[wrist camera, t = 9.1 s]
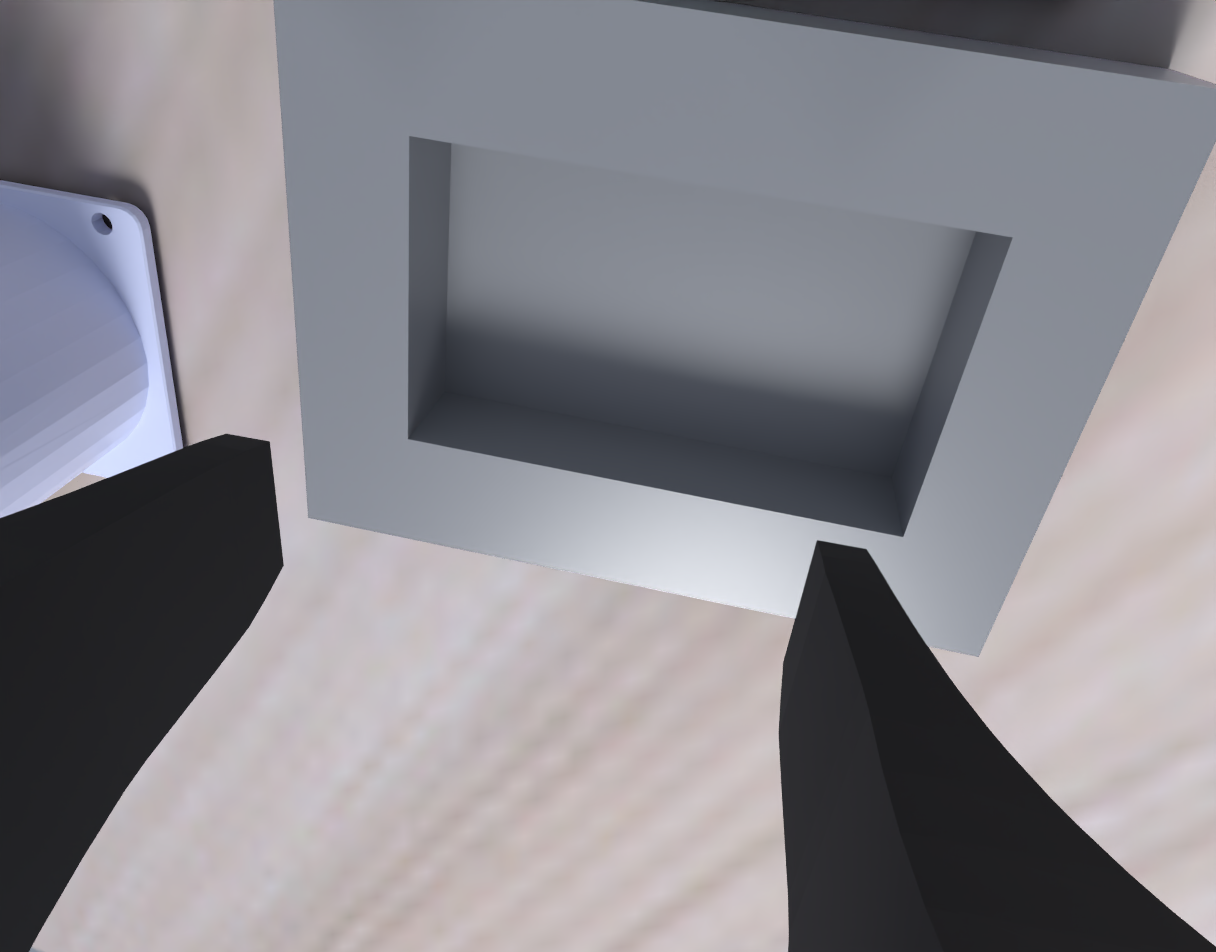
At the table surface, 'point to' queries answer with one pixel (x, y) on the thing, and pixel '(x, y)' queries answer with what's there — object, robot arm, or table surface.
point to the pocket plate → (713, 285)
